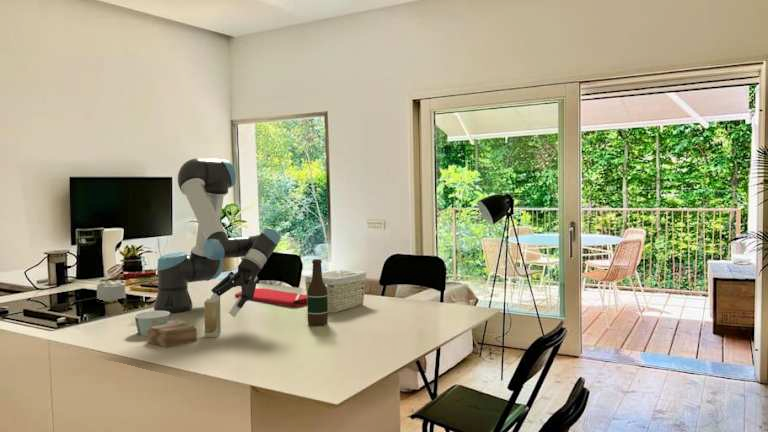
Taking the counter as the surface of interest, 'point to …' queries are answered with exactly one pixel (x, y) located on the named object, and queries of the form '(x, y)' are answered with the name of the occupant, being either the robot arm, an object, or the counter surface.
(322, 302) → the beer bottle
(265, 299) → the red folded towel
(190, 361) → the counter surface
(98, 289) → the lumpy-topped squat cylinder
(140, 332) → the food container
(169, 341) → the walnut base
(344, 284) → the storage basket
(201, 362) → the counter surface
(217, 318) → the skincare box
